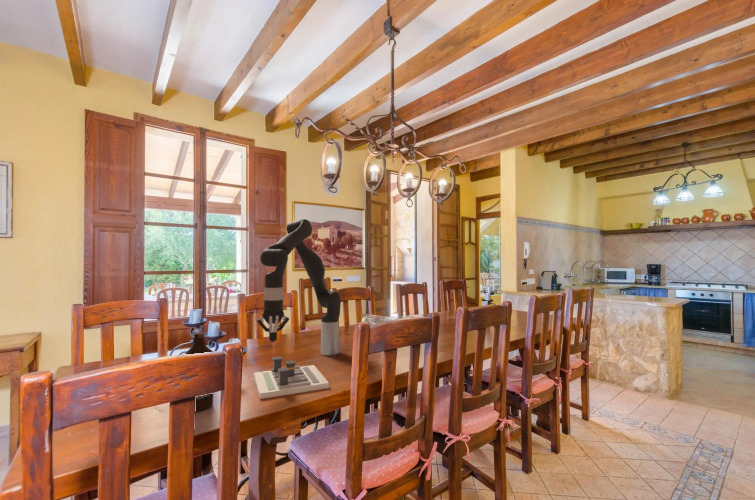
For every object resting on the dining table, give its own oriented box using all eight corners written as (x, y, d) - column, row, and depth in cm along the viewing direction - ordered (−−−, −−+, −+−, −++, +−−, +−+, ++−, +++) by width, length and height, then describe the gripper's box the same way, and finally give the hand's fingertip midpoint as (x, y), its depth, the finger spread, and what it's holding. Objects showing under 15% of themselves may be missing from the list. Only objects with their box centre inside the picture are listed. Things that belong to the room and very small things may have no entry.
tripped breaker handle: (293, 374, 141) (293, 360, 141) (295, 377, 138) (295, 362, 138) (284, 375, 139) (284, 361, 140) (286, 378, 136) (286, 363, 136)
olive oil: (178, 404, 117) (180, 332, 118) (212, 397, 123) (213, 328, 124) (180, 416, 108) (182, 338, 109) (216, 408, 114) (218, 334, 115)
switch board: (313, 369, 155) (314, 351, 155) (328, 388, 133) (329, 366, 133) (253, 377, 144) (254, 357, 144) (259, 399, 122) (259, 376, 122)
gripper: (288, 296, 142) (287, 338, 142) (255, 298, 137) (254, 340, 137) (291, 298, 136) (291, 342, 135) (257, 300, 130) (256, 345, 130)
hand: (272, 341), depth 136 cm, fingers closed
